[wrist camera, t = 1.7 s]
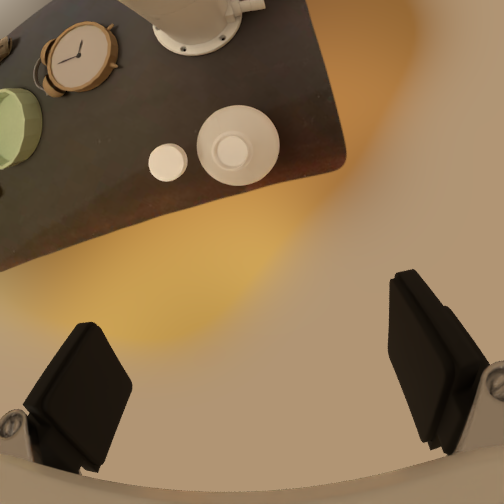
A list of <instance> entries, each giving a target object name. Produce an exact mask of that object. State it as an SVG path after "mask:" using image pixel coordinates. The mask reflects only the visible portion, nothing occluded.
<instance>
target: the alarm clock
mask: <svg viewBox="0 0 504 504" xmlns="http://www.w3.org/2000/svg"><path fill="white" fill-rule="evenodd" d="M113 26H114V25H113V24H111V25H110V26H108V27H107V28H104V27H103V26H101V25H99V24H97V23H96V22H87V21H85V22H81V23H77V24H74V25H73V26H71V27H69V28H68V29H66V30H65V31H64V32H63V33H62V34H61V35H60V36H59V37H58V38H57V39H52V40H50V41H48V42H47V43H46V44H45V45H44V47H43V49H42V51H41V57H40V58H39V59H38V61H37V62H36V64H35V67H34V72H33V78H34V82H35V85H36V86H37V87H38V88H39V89H42V90H43V91H45V92H46V96H48V95H50V96H52V97H61V96H62V95H64V94H65V93H66V91H76V92H83V91H89V90H91V89H93V88H95V87H97V86H99V85H100V84H101V83H102V82H103V81H104V80H106V79H107V78H108V76H109V75H110V73H111V72H112V70H113V69H114V68H117V67H118V65H116V61H117V58H118V44H117V40H116V37H115V36H114V35H113V34H112V32H111V31H110V29H111V28H112V27H113ZM41 61H42V63H43V64H44V65H46V66H47V70H48V75H46V76H45V78H44V80H43V87H42V86H41V85H40V84H39V81H38V68H39V65H40V63H41Z"/></svg>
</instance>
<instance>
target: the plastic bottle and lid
mask: <svg viewBox="0 0 504 504" xmlns="http://www.w3.org/2000/svg"><path fill="white" fill-rule="evenodd" d="M279 146H280V144H279V136H278V133H277V130H276V128H275V126H274V124H273V123H272V121H271V120H270V119H269V118H268V117H267V116H266V115H265V114H264V113H262V112H261V111H259V110H257V109H255V108H252V107H249V106H243V105H234V106H228V107H225V108H222V109H220V110H218V111H216V112H214V113H213V114H212V115H211V116H210V117H209V118H208V119H207V120H206V121H205V122H204V124H203V125H202V127H201V129H200V132H199V134H198V139H197V153H198V157H199V160H200V162H201V164H202V166H203V168H204V169H205V170H206V172H207V173H208V174H209V175H210V176H212V177H213V178H214V179H216V180H218V181H220V182H222V183H224V184H228V185H234V186H242V185H248V184H251V183H254V182H257V181H259V180H260V179H262V178H263V177H264V176H265V175H267V174H268V173H269V172H270V170H271V169H272V168H273V166H274V164H275V163H276V160H277V158H278V154H279ZM186 167H187V156H186V153H185V152H184V150H183V149H182V148H181V147H180V146H178V145H176V144H164V145H161V146H159V147H157V148H155V150H154V151H153V152H152V153H151V155H150V157H149V168H150V171H151V173H152V175H153V176H154V177H156V178H157V179H158V180H161V181H165V182H168V181H173V180H175V179H176V178H178V177H179V176H181V175H182V174H183V173H184V171H185V169H186Z"/></svg>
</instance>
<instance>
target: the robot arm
mask: <svg viewBox="0 0 504 504" xmlns="http://www.w3.org/2000/svg"><path fill="white" fill-rule="evenodd" d="M118 1H119V2H121V3H123V4H124V5H126V6H127V7H129V8H130V9H132V10H133V11H135V12H136V13H138V14H139V15H141V16H142V17H143V18H145V19H146V20H148V21H149V22H150V23H152V24H153V30H154V33H155V36H156V37H157V39H158V41H159V42H160V43H161V44H162V45H163V46H164V47H166V48H167V49H168V50H170V51H172V52H174V53H177V54H180V55H185V56H200V55H205V54H208V53H211V52H214V51H216V50H218V49H219V48H221V47H223V46H224V45H225V44H227V43H228V42H229V41H230V40H231V39H232V38H233V37H234V36H235V34H236V32H237V31H238V29H239V26H240V24H241V20H242V13H243V12H247V11H255V10H261V9H265V3H264V0H244V1H239V0H118ZM159 29H160V30H159ZM222 38H225V40H224V41H222ZM184 49H186V51H185V52H184V51H183V50H184ZM389 292H390V293H389V294H390V295H389V301H390V302H389V333H388V354H389V358H390V360H391V363H392V365H393V368H394V370H395V372H396V375H397V377H398V380H399V382H400V385H401V388H402V390H403V393H404V395H405V398H406V401H407V403H408V406H409V409H410V411H411V414H412V417H413V419H414V422H415V425H416V428H417V430H418V433H419V436H420V439H421V441H422V442H423V443H424V442H428V445H429V447H430V450H433V449H436V448H438V447H442V449H443V452H444V453H446V454H447V455H446V456H445V457H442V458H439V459H435V460H432V461H428V462H425V463H421V464H417V465H413V466H410V467H406V468H403V469H399V470H395V471H391V472H387V473H383V474H378V475H374V476H370V477H365V478H360V479H355V480H349V481H343V482H338V483H332V484H326V485H319V486H313V487H304V488H295V489H285V490H272V491H254V492H200V491H182V490H169V489H159V488H150V487H142V486H135V485H128V484H122V483H116V482H111V481H105V480H100V479H95V478H91V477H86V476H82V474H81V471H80V467H81V466H82V467H83V468H84V469H85V470H87V471H92V472H97V473H98V471H99V468H100V466H101V465H102V464H103V463H104V461H105V459H106V456H107V453H108V450H109V448H110V445H111V442H112V440H113V437H114V434H115V432H116V429H117V427H118V424H119V422H120V419H121V417H122V414H123V411H124V409H125V406H126V404H127V401H128V399H129V396H130V394H131V392H132V382H131V380H130V378H129V377H128V375H127V373H126V372H125V370H124V368H123V367H122V365H121V363H120V362H119V360H118V358H117V357H116V355H115V353H114V351H113V349H112V348H111V346H110V344H109V342H108V341H107V339H106V337H105V335H104V333H103V331H102V329H101V328H100V327H99V326H97V325H96V324H95V323H93V322H86V323H79V324H77V325H76V327H75V328H74V330H73V331H72V332H71V334H70V335H69V336H68V338H67V339H66V341H65V342H64V343H63V345H62V346H61V348H60V349H59V351H58V352H57V353H56V355H55V356H54V358H53V359H52V361H51V362H50V364H49V365H48V366H47V368H46V369H45V371H44V372H43V374H42V376H41V377H40V379H39V380H38V381H37V383H36V384H35V386H34V388H33V389H32V391H31V392H30V394H29V395H28V397H27V399H26V400H25V402H24V403H23V405H24V407H25V408H26V409H27V410H28V411H29V415H28V416H27V415H26V414H25V413H24V412H23V411H22V410H19V409H14V410H11V411H9V412H8V413H6V414H5V415H4V416H3V417H2V418H1V419H0V504H504V361H499V362H495V363H493V364H491V365H490V364H489V362H488V361H487V360H486V358H485V356H484V355H483V354H482V352H481V351H480V349H479V348H478V346H477V345H476V343H475V342H474V340H473V339H472V338H471V336H470V335H469V333H468V332H467V331H466V329H465V328H464V327H463V325H462V324H461V322H460V321H459V320H458V319H457V317H456V316H455V314H454V313H453V312H452V311H451V309H450V308H449V307H447V306H443V305H442V303H441V302H440V301H439V299H438V298H437V297H436V296H435V294H434V293H433V292H432V291H431V289H430V288H429V287H428V285H427V284H426V283H425V282H424V281H423V279H422V278H421V277H420V275H419V274H418V273H417V272H416V271H415V270H414V269H412V270H407V271H403V272H398V273H396V274H395V278H394V279H391V280H390V291H389Z"/></svg>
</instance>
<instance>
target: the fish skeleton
mask: <svg viewBox="0 0 504 504" xmlns="http://www.w3.org/2000/svg"><path fill="white" fill-rule="evenodd" d="M11 48H12V39H11V38H10V39H9V42H8V38H7V36H6V37H4V38H2V39H1V40H0V61H1V60H2V59H4V58H5V57H6V56H7V55H9V53H10V51H11Z"/></svg>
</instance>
